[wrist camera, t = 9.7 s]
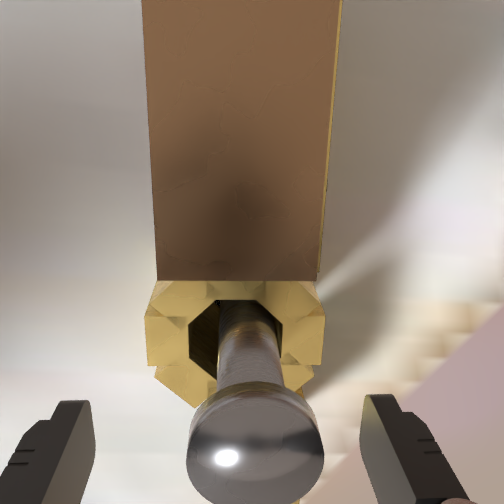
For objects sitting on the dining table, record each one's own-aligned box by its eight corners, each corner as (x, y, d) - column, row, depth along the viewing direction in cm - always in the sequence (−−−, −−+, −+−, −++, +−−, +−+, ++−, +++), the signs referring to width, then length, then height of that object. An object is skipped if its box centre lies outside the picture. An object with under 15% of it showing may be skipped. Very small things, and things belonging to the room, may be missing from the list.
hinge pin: (280, 243, 23) (329, 405, 11) (277, 307, 24) (318, 511, 13) (207, 242, 22) (184, 407, 11) (208, 308, 24) (188, 514, 12)
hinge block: (291, 417, 27) (314, 551, 19) (173, 418, 26) (151, 555, 19) (320, -1, 19) (380, -50, 11) (152, -7, 18) (100, -62, 11)
